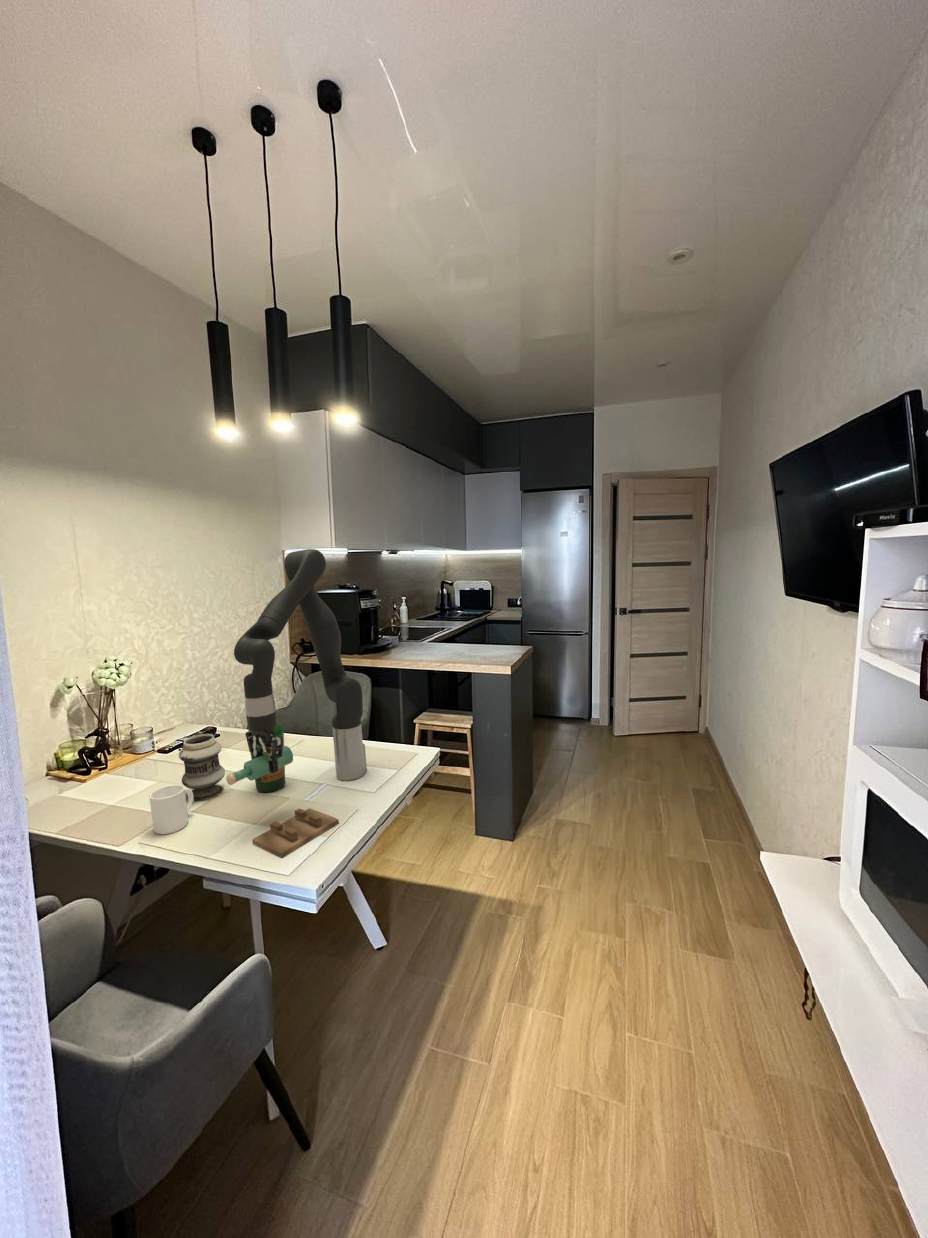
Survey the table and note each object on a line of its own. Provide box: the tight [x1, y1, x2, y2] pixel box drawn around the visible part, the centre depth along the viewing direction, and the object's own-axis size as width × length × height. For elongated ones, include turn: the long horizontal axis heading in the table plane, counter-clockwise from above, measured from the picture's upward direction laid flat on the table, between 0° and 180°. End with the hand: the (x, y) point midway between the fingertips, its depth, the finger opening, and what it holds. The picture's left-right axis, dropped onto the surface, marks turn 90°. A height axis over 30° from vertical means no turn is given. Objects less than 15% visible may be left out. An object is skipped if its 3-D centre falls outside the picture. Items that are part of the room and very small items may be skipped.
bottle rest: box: [251, 807, 340, 859], centre depth 131 cm, size 18×12×4 cm, turn 146°
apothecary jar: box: [178, 733, 226, 802], centre depth 155 cm, size 12×12×18 cm
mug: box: [148, 784, 194, 835], centre depth 138 cm, size 12×8×10 cm
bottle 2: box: [250, 721, 286, 793], centre depth 157 cm, size 11×11×28 cm
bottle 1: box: [225, 745, 294, 786], centre depth 135 cm, size 18×5×5 cm, turn 146°
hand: (267, 769), depth 137 cm, fingers closed on bottle 1, 5 cm apart
